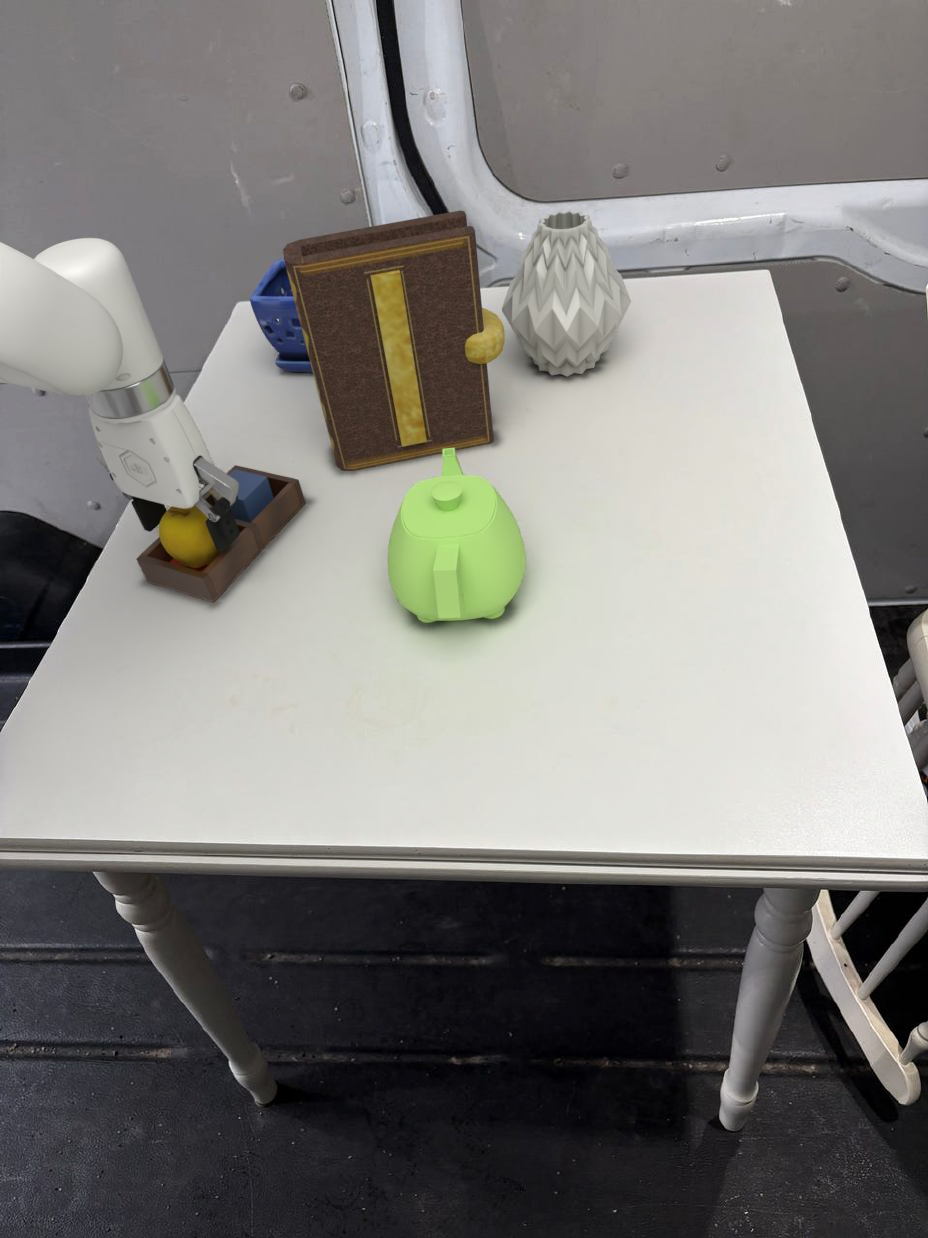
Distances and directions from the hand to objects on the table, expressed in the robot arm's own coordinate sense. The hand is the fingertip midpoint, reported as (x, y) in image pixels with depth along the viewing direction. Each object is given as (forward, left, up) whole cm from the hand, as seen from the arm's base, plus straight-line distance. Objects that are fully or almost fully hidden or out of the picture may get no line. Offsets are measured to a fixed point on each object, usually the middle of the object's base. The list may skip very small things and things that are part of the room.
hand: (192, 532), depth 88 cm
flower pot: (-12, +43, -5) cm, 45 cm away
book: (+12, +28, -5) cm, 31 cm away
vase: (+22, +51, -5) cm, 56 cm away
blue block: (0, +8, -4) cm, 9 cm away
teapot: (+28, +6, -5) cm, 29 cm away
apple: (0, 0, -4) cm, 4 cm away
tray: (0, +4, -5) cm, 6 cm away
